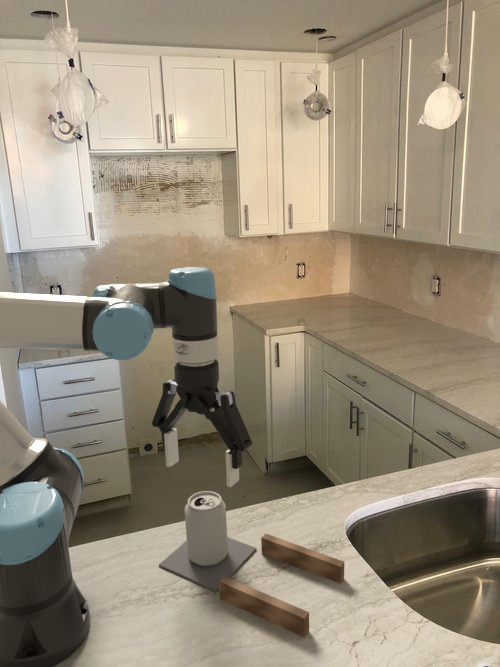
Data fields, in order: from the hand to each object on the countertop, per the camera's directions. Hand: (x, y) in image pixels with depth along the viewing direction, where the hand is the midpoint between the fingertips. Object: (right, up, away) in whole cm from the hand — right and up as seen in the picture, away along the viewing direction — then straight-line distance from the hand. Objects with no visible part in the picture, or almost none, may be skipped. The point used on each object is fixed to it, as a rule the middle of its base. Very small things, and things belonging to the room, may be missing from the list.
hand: (201, 473), depth 97 cm
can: (+1, -17, +5) cm, 17 cm away
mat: (+1, -17, +5) cm, 18 cm away
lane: (+14, -19, -4) cm, 24 cm away
